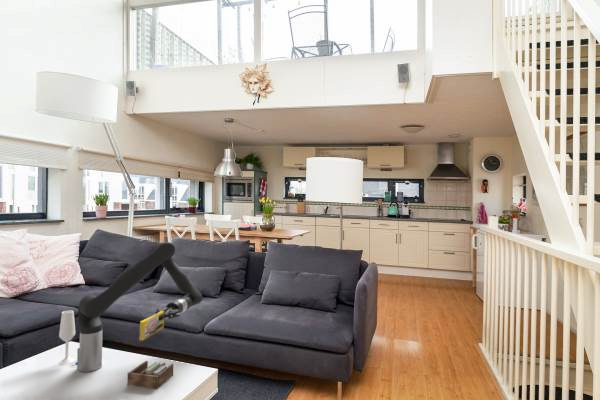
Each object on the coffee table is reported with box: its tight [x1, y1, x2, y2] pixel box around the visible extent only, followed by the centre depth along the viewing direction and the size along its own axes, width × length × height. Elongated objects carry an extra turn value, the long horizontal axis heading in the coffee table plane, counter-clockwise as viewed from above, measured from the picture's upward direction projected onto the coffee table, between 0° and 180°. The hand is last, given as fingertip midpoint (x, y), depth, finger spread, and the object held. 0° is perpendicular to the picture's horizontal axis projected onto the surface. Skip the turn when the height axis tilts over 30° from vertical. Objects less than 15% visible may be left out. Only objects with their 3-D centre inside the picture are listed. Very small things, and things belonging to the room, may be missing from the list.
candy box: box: [138, 311, 165, 342], centre depth 166 cm, size 16×2×8 cm, turn 168°
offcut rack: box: [126, 360, 174, 390], centre depth 159 cm, size 14×12×5 cm
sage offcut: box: [146, 361, 161, 375], centre depth 160 cm, size 2×8×6 cm, turn 168°
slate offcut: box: [153, 365, 168, 376], centre depth 158 cm, size 2×7×6 cm, turn 168°
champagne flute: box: [58, 309, 76, 365], centre depth 176 cm, size 7×7×24 cm
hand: (157, 318), depth 170 cm, fingers closed on candy box, 2 cm apart
